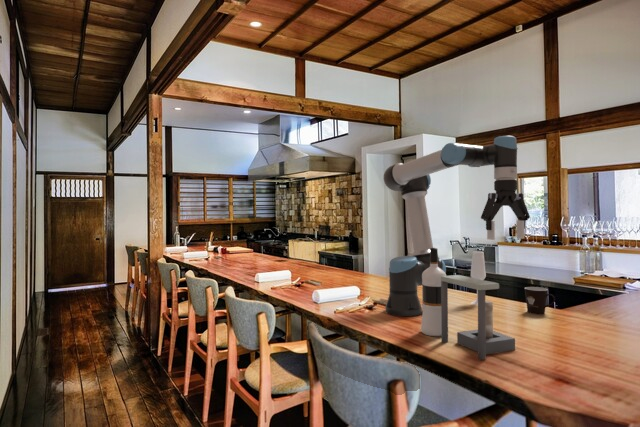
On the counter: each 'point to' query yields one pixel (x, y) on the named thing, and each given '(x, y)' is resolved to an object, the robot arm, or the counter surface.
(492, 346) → the socket block
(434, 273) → the vodka
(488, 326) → the peg
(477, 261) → the champagne flute
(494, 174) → the robot arm
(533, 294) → the coffee mug
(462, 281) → the small grey bench
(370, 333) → the counter surface
